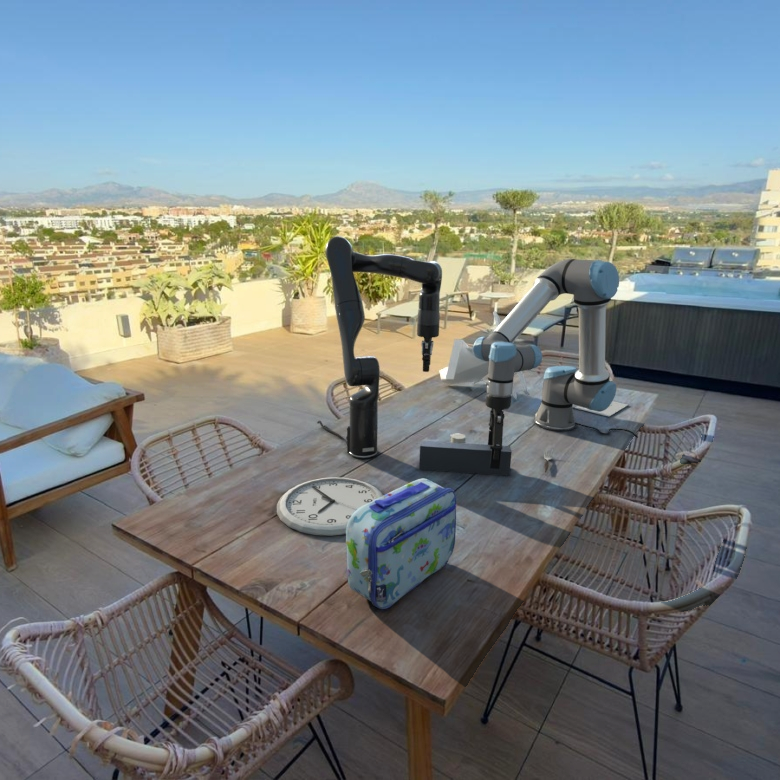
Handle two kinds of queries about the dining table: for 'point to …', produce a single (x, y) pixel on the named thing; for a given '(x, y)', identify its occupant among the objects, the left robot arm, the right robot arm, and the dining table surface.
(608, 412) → the invitation card
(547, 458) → the fork
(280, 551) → the dining table surface
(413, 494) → the lunch box
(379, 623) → the dining table surface
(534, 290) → the right robot arm
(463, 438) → the off-white cylinder
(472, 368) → the white plastic object
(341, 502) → the wall clock
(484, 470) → the bar
